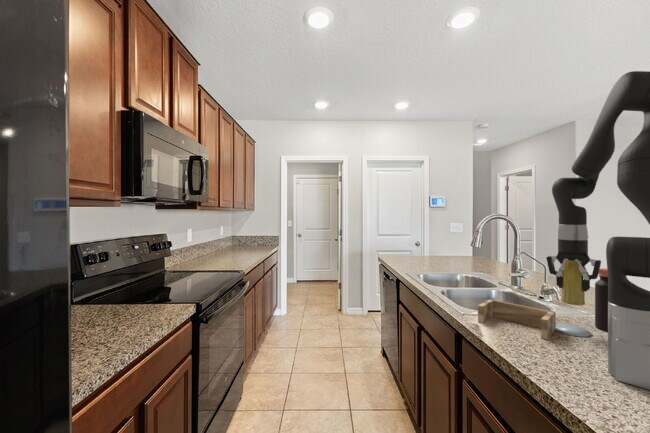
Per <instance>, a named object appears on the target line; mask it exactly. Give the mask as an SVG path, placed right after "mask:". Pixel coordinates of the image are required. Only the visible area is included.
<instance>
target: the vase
mask: <svg viewBox="0 0 650 433" xmlns="http://www.w3.org/2000/svg"><path fill="white" fill-rule="evenodd" d="M563 261H564V259H563ZM565 262H566V263H564V270H563V273H562V288H561V299H560V301H561V302H562V303H563V304H565V305H571V306H572V305H573V306H585V304H586V302H585V301H586V300H585V293H586V292H585V291H583V280H584V277H583V276H582V274H581V273H580V271H579V267H580V266H579V264H578V261H571V260H565ZM580 263H581V261H580ZM581 270H582V269H581Z"/></svg>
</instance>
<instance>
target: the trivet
mask: <svg viewBox="0 0 650 433" xmlns="http://www.w3.org/2000/svg"><path fill="white" fill-rule="evenodd" d="M555 331H557V332H559V333H562V334H564V335H569V336H573V337H579V338H581V337H582V338H583V337H584V338H587V337H590V336H591V332H590V331H589V330H588V329H586V328H583V327H580V326H577V325H571V324H566V323H562V324H561V323H559V324H555Z"/></svg>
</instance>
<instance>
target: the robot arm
mask: <svg viewBox="0 0 650 433" xmlns="http://www.w3.org/2000/svg"><path fill="white" fill-rule="evenodd" d="M624 111H627V112H641V113H643V123H642V124H643V126H642V129H641V131H640V132H639V133H638V135H636V136H637V137H636V138H635V139H633V141H632V142H631V143H629V145H628V146H627V147H626V148H625V149H624V151H622V153H621V155H620V156H619V158H618V160H617V172H616V173H617V177H616V183H617V184H616V185H617V187H618V189H619V190H620V192H621V193H622V194H623V195H624V196H625V197H626V199H628V201H629V202H630V203H631V204H632V205H633V206H634V207H635V208H636V209H637V210H638V211H639V212H640V213H641V215H642V216H643V217H644V218H645V220H646V221H647V223H648V224H649V225H650V71H647V70H646V71H641V70H639V71H637V70H633V71H629V72H626V73H625V74H623V75H621V77H619V78H618V80H617V81H616V82H615V83H614V84H613V86H612V88H611V89H610V92H609V94H608V95H607V98H606V100H605V102H604V104H603V106H602V108H601V111H600V113H599V115H598V117H597V120H596V122H595V124H594V126H593V129H592V132H591V133H590V136H589V138H588V140H587V142H586V143H585V145H584V147H583V148H582V149H581V152H580V153H579V155H578V156H577V158H576V159H575V161H574V162H573V164H572V166H571V171H572V173H574V174H575V175H576V176H577V177H561V178H557V179H556V180H555V181H554V183H553V184H552V187H551V193H552V196H553V200H554V203H555V205H556V208H557V212H558V229H557V254H556V255H548V256H546V262H547V267H548V271H549V274H550V275H554V276H555V277H556V286H558V288H559V289H562V273H563V270H564V263H566V262H565V260H571V261H578V264H579V266H580V267H579V271H580V273H581V274H582V276H583V279H584V280H583V291H584V293H587V292H588V291H589V290H590V288H591V280H596V279H598V277H599V270H600V269H601V265H602V260H601V259H592V258H590V256H589V233H588V232H589V231H588V227H587V222H588V220H587V218H588V216H587V209H586V208H585V207H583V206H580V205H576V204H575V203H574V201H573V200H583V199H586V198H588V197H590V196H591V195H592V194H593V193H594V191H595V189H596V185H597V183H598V180H599V177H600V173H601V171H603V169H604V168H605V166H606V165H607V164H608V163H609V162H610V160H611V158H612V156H613V155H614V154H615V153H614V152H615V148H616V141H615V139H616V138H615V127H616V126H615V125H616V122H617V120H618V119H619V117H620V116H621V114H622V113H623V112H624ZM605 254H606V255H605V256H606V258H605V260H606V269H607V271H608V332H607V359H608V360H607V368H608V369H607V371H608V373H609V374H610V375H611V376H612V377H613V378H615V380H616V381H619V382H622V383H625V384H629V385H632V386H636V387H639V388H642V389H645V390H649V391H650V290H648V289H645V288H643V287H641V286H639V285H636V284H635V283H633V282H632V281H631V280H629V279H628V278H627V276H628V277H635V278H646V279H647V278H648V279H650V237H645V236H643V237H640V236H639V237H638V236H612V237H610V238H609V239H608V241H607V243H606V247H605ZM563 259H564V261H563ZM556 260H557V261H558V262H559V264H560V267H559V268H558V270H556V268H555V262H556ZM580 261H581V263H580ZM588 263H590V264H591V266H592V267H593V270H592V273H591V274H589V272H588V270H587V268H586V265H588ZM581 269H582V270H581Z"/></svg>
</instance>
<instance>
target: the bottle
mask: <svg viewBox="0 0 650 433" xmlns="http://www.w3.org/2000/svg"><path fill="white" fill-rule="evenodd" d="M598 277H599V279H598V280H597V281H595V283H594V308H595V309H594V326H595V328H597V329H598V330H600V331H603V332H607V333H608V271H607V268H602V267H600V270H599V274H598Z"/></svg>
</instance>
